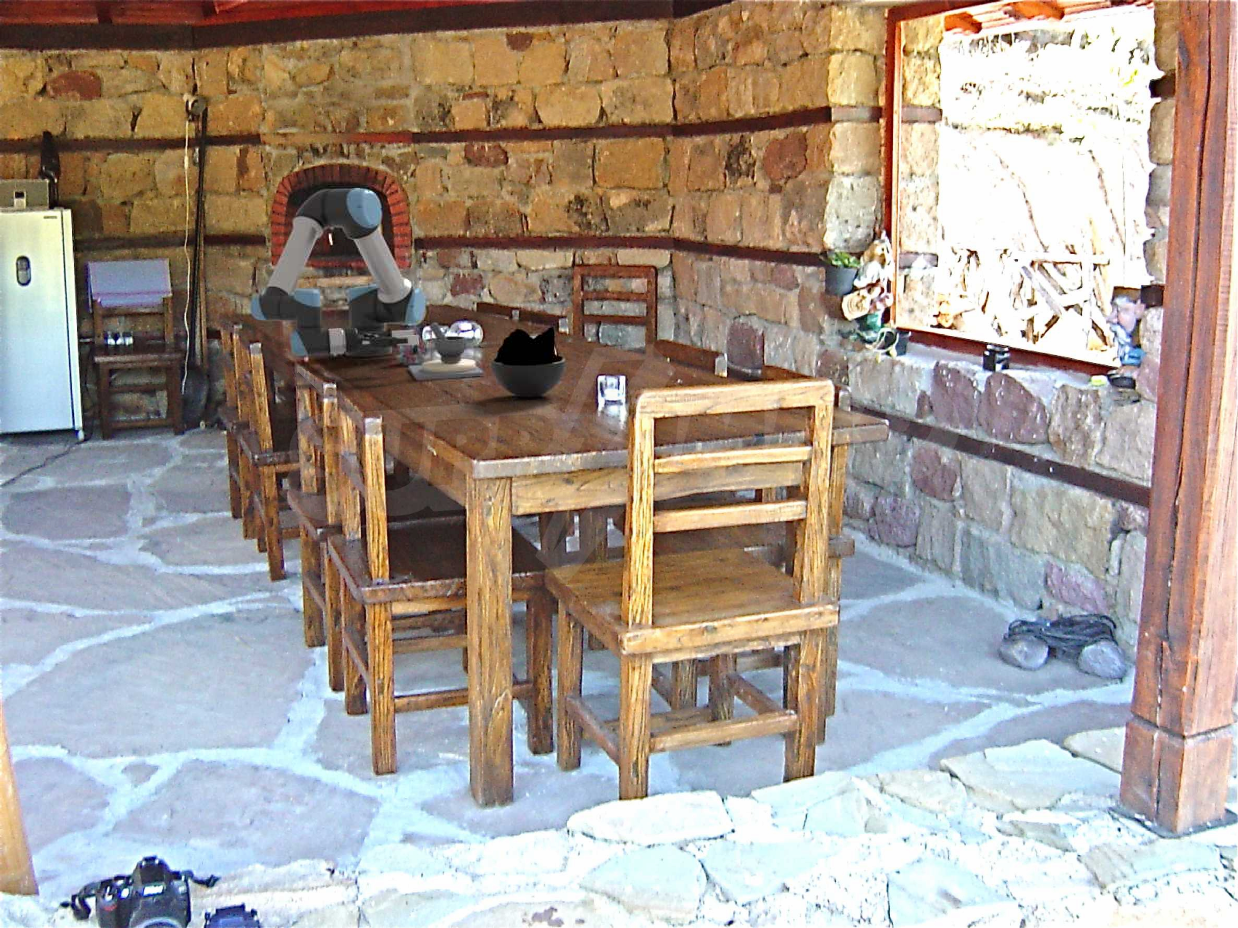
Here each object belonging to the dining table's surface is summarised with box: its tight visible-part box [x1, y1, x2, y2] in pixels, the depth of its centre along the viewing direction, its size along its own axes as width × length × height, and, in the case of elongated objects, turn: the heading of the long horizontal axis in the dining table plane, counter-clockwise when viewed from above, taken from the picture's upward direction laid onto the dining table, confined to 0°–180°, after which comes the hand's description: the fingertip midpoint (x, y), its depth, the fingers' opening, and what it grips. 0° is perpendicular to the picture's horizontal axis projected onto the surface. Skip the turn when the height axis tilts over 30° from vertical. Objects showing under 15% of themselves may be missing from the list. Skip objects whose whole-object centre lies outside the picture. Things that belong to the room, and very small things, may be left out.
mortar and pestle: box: [429, 322, 467, 362], centre depth 398 cm, size 11×9×12 cm
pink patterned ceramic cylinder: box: [394, 328, 432, 367], centre depth 421 cm, size 11×11×12 cm
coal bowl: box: [490, 326, 567, 398], centre depth 355 cm, size 20×20×19 cm
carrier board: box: [408, 358, 485, 381], centre depth 401 cm, size 22×20×4 cm
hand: (416, 337), depth 396 cm, fingers open, 13 cm apart
